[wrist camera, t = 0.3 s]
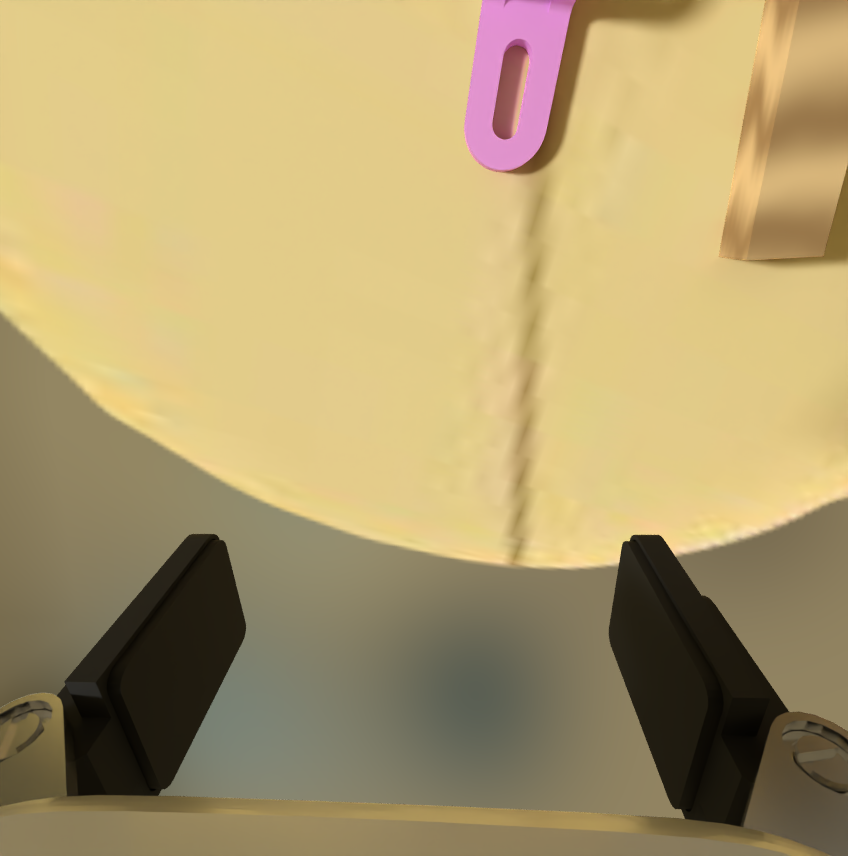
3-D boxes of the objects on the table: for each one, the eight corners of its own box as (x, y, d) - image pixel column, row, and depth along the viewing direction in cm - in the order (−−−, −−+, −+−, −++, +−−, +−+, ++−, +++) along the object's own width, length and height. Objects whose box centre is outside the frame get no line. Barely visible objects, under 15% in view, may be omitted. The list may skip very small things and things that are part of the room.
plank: (765, -14, 30) (808, -47, 26) (849, -22, 29) (906, -56, 26) (716, 256, 36) (746, 260, 32) (785, 252, 36) (823, 256, 32)
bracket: (492, -72, 29) (504, -154, 23) (582, -59, 29) (618, -137, 23) (458, 165, 34) (460, 153, 28) (533, 177, 34) (552, 167, 28)
